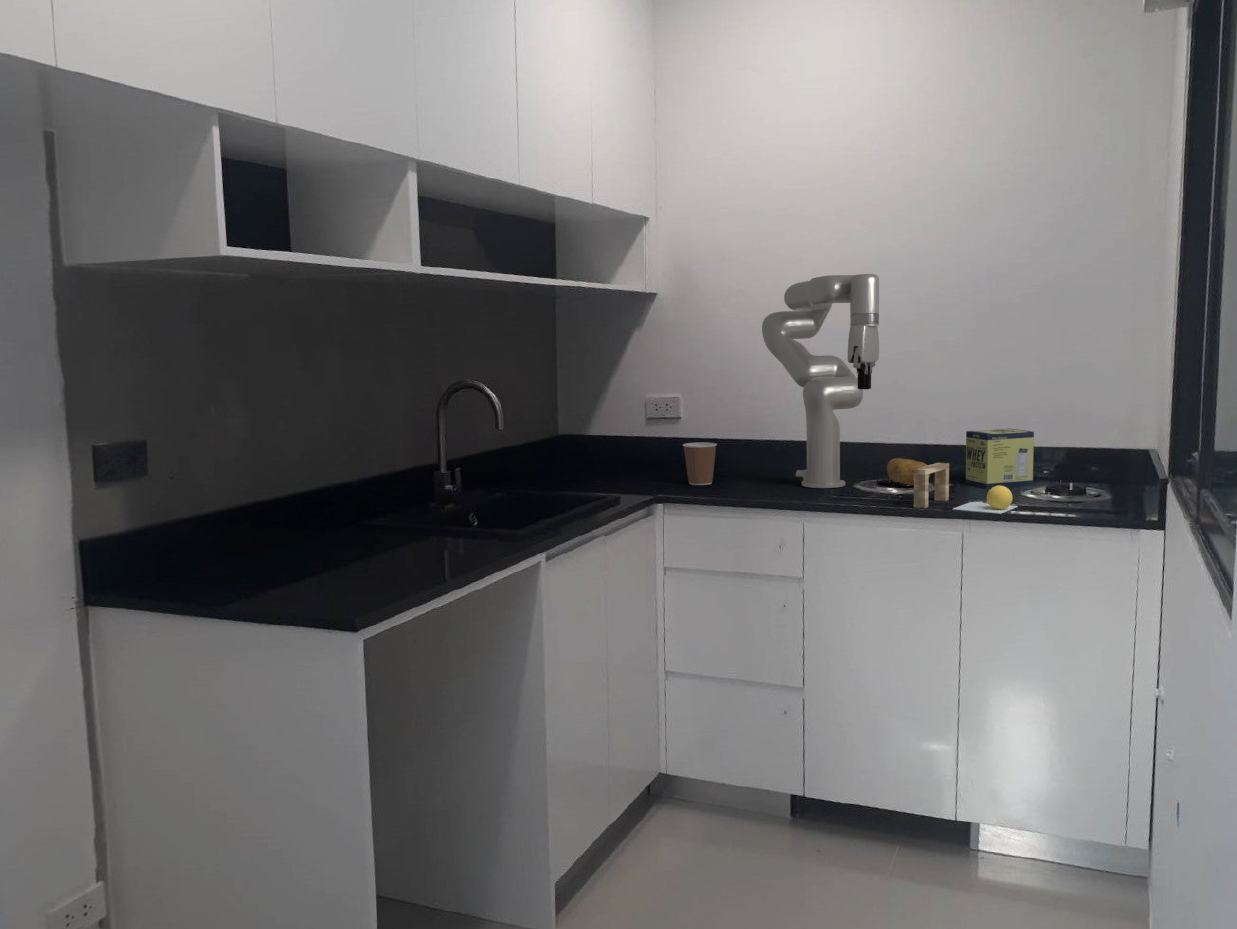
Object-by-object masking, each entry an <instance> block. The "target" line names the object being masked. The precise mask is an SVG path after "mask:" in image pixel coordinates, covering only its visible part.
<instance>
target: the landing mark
mask: <svg viewBox="0 0 1237 929" xmlns="http://www.w3.org/2000/svg"><path fill="white" fill-rule="evenodd" d="M1015 508H1018V505H1012V504H1010V506H1009V507H1007V508H1005V509H1002V510H999V509H994V508H992V507H991V506H990V505H989V504H988V502H987V503H985V502H977V501H974V502H973V501H970V502H967V503H964V504H961V505H958V506H957V507H953V508H952V509H951V510H954V511H955V510H956V511H962V512H963V511H964V512H974V513H975V512H976V513H984V514H985V513H987V514H999V515H1001V514H1003V513H1006V512H1008V511H1011V510H1013V509H1015Z"/></svg>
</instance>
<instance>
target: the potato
mask: <svg viewBox="0 0 1237 929" xmlns="http://www.w3.org/2000/svg"><path fill="white" fill-rule="evenodd" d="M924 466H928V464H927V463H925V462H922V461H917V460H913V459H909V458H907V459H906V458H901V457H897V458H892V459H890V460H889V461H888V462H887V464H886V472H887V475H888V477H889V479H890V480H891V481H892V482H894V483H895V482H901V483H904V484H907V485H914V469H917V468H921V467H924ZM930 476H931V473H930V474H929V478H930Z"/></svg>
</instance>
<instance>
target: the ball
mask: <svg viewBox="0 0 1237 929" xmlns="http://www.w3.org/2000/svg"><path fill="white" fill-rule="evenodd" d="M986 501H987V503H988V504H989V505H990V506H991V507H992V508H994V509H999V510H1002V509H1005V508H1007V507H1009V506H1010V505H1012V502H1013V493H1012V491H1011V490H1010V488H1009V487H1004V486H995V487H992V488H991V489H989V490H988V492H987V495H986Z"/></svg>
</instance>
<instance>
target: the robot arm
mask: <svg viewBox="0 0 1237 929" xmlns="http://www.w3.org/2000/svg"><path fill="white" fill-rule="evenodd" d="M783 299H784V303H785V305H786V306H787V307H788V308H789V309H791V310H783V311H781V310H780V311H775V312H772V313H770V314H768V315H766V317H764V319H763V321H762V324H761V333H762V338H763V341H764V342H763V343H764V344H765V346H766V347H767V350H769V352H770V354H771V355H773V356H774V357H775V358H776V359H777V360H778V361H779V362H780V363H781V364H782V366H783V367H784V369H785V371H786V372H787V373H788V374H789V375H790V377H791V378H792V379H793V381H794V382H795V383H796V385H798V386H799V387H801V388H802V389H803V390H802V398H803V403H804V404H803V405H804V409H805V420H806V427H805V428H806V469H803V470H802V469H801V470H800V469H797V470H796V472H795V477H796V478H803V480H802V481H801V486H802V487H805V488H812V489H835V488H842V487H845V486H846V481H845V480H842V479H841V461H840V460H841V448H840V447H841V440H840V439H841V435H840V434H841V432H840V431H841V427H840V422H839V419H838V418H837V416H836V414H835V413H834V411H833V410H835V411H836V410H848V409H853V408H855V407H857V406H859V405H860V404H861V403H862V402H863V398H864V390H871V389H872V374H873V368H875V367H876V362H877V361H879V358H880V340H879V337H880V336H879V329H878V328H879V327H880V323H879V322H880V314H879V313H880V278H879V276H878V275H877V274H873V273H861V274H853V275H851V274H845V275H844V274H839V275H838V274H836V275H835V274H834V275H833V274H832V275H824V276H816V277H813V278H811V279H810V280H807V281H806V280H805V281H801V282H797V283H794V284H792V285H790V286H789V287H787V289H786V290H785V292H784V295H783ZM833 304H849V306H850V307H849V308H850V309H849V310H850V312H849V317H850V318H849V332H848V340H847V342H848V343H847V362H848V363H849V364H852V367H853V368H854V369H856V374H857V376H856V375H855V373H853V371H852V370H851V369H850V368H849V366H848V365H847V364H846V363H845V362H844V360H843V359H841V358H840V357H838V356H835V355H815V354H811V352H809V351H808V348H806V346H804V345H803V344H802V343H801V342H799V341H797V339H798V340H801V339H806V340H807V339H811V338H813V337H815V336H816V335H817V334H818V333H819V331H820V330H821V328H822V326H823V324H824V322H825V320H826V318H827V316H828V314H829V313H830V312H831V309H832V306H833Z"/></svg>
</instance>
